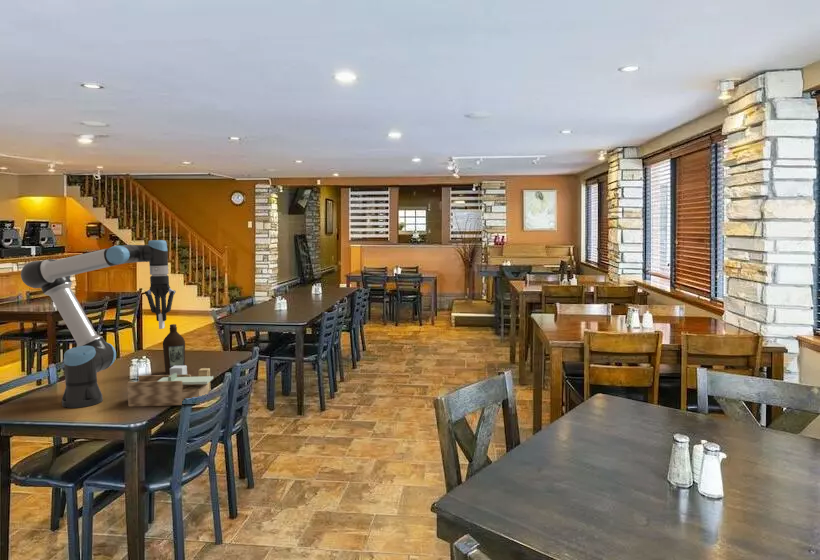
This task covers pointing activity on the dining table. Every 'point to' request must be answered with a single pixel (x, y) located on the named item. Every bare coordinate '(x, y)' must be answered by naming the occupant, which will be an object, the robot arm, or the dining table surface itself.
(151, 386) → the toolbox
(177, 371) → the product box
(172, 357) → the olive oil
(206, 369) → the beige wooden block
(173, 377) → the lid
